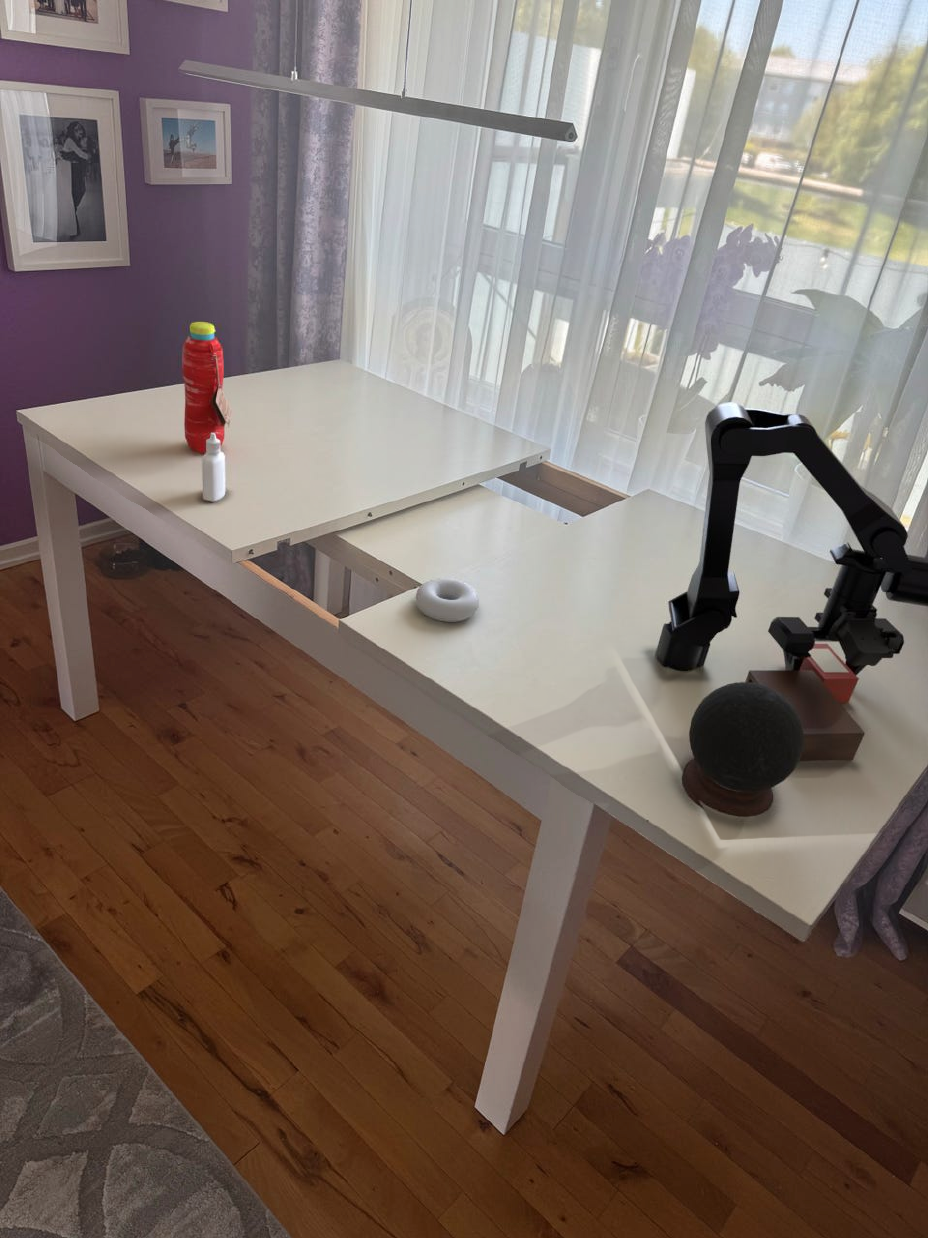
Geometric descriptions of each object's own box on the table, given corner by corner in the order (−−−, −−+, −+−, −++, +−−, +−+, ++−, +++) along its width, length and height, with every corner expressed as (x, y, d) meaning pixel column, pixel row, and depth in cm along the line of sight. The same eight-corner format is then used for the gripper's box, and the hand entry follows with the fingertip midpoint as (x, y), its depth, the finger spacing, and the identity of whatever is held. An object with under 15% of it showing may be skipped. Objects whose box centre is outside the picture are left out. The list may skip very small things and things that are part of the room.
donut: (456, 634, 136) (489, 607, 144) (459, 615, 135) (492, 588, 142) (401, 610, 140) (436, 585, 148) (403, 591, 138) (438, 567, 146)
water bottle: (243, 457, 182) (243, 331, 169) (208, 465, 176) (206, 336, 163) (210, 437, 188) (207, 314, 175) (175, 444, 183) (170, 318, 170)
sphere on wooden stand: (785, 777, 117) (823, 683, 109) (772, 842, 106) (814, 743, 99) (685, 742, 121) (715, 648, 113) (663, 801, 110) (695, 703, 102)
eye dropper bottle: (194, 495, 164) (191, 432, 158) (218, 488, 169) (217, 426, 162) (209, 504, 162) (208, 440, 156) (234, 496, 166) (233, 433, 160)
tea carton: (813, 706, 132) (824, 678, 129) (784, 670, 139) (794, 642, 136) (846, 706, 133) (859, 678, 130) (816, 670, 140) (827, 643, 138)
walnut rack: (783, 766, 119) (796, 734, 116) (738, 700, 131) (749, 670, 128) (851, 764, 121) (865, 732, 118) (800, 700, 133) (812, 670, 130)
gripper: (823, 622, 119) (786, 717, 127) (946, 624, 123) (902, 715, 131) (783, 580, 128) (751, 670, 136) (899, 582, 132) (861, 670, 140)
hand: (817, 682), depth 135 cm, fingers open, 9 cm apart
